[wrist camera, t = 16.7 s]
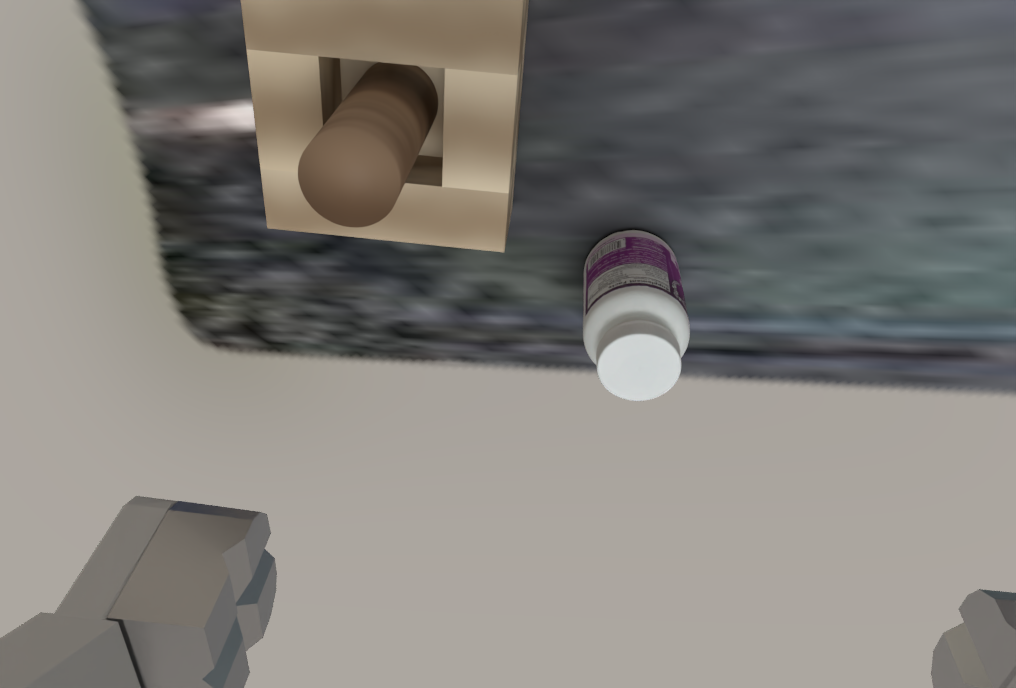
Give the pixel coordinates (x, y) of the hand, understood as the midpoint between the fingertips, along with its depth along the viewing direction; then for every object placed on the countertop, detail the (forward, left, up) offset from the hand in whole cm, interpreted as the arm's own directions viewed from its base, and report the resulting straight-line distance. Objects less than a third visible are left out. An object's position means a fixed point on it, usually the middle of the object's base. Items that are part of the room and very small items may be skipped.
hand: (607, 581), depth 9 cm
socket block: (+6, -9, -34) cm, 36 cm away
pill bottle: (+15, +4, -34) cm, 38 cm away
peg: (+6, -9, -33) cm, 34 cm away
